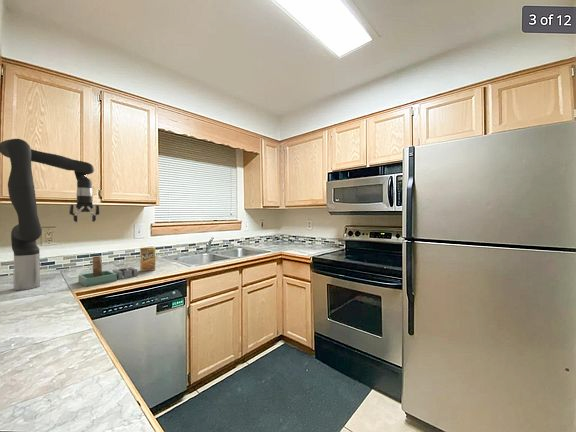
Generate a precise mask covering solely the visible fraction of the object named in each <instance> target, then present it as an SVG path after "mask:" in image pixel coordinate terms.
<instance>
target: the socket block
mask: <svg viewBox="0 0 576 432" xmlns="http://www.w3.org/2000/svg"><path fill="white" fill-rule="evenodd" d="M111 272H113V273H116V274H117V280H122V279H128V278H132V277H137V276H138V269H137V268H134V267H131V266H130V267H123V268H118V269H116V268H115V269H112V270H111Z"/></svg>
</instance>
